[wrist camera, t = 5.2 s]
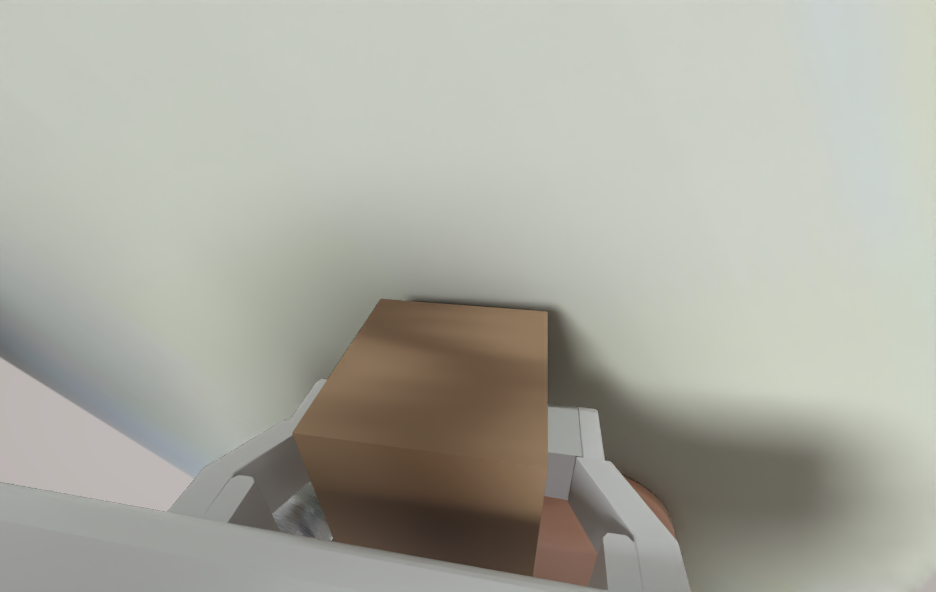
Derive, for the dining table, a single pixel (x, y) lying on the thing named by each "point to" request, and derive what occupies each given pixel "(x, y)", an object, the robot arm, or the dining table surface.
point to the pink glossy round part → (576, 539)
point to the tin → (303, 515)
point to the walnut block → (435, 434)
